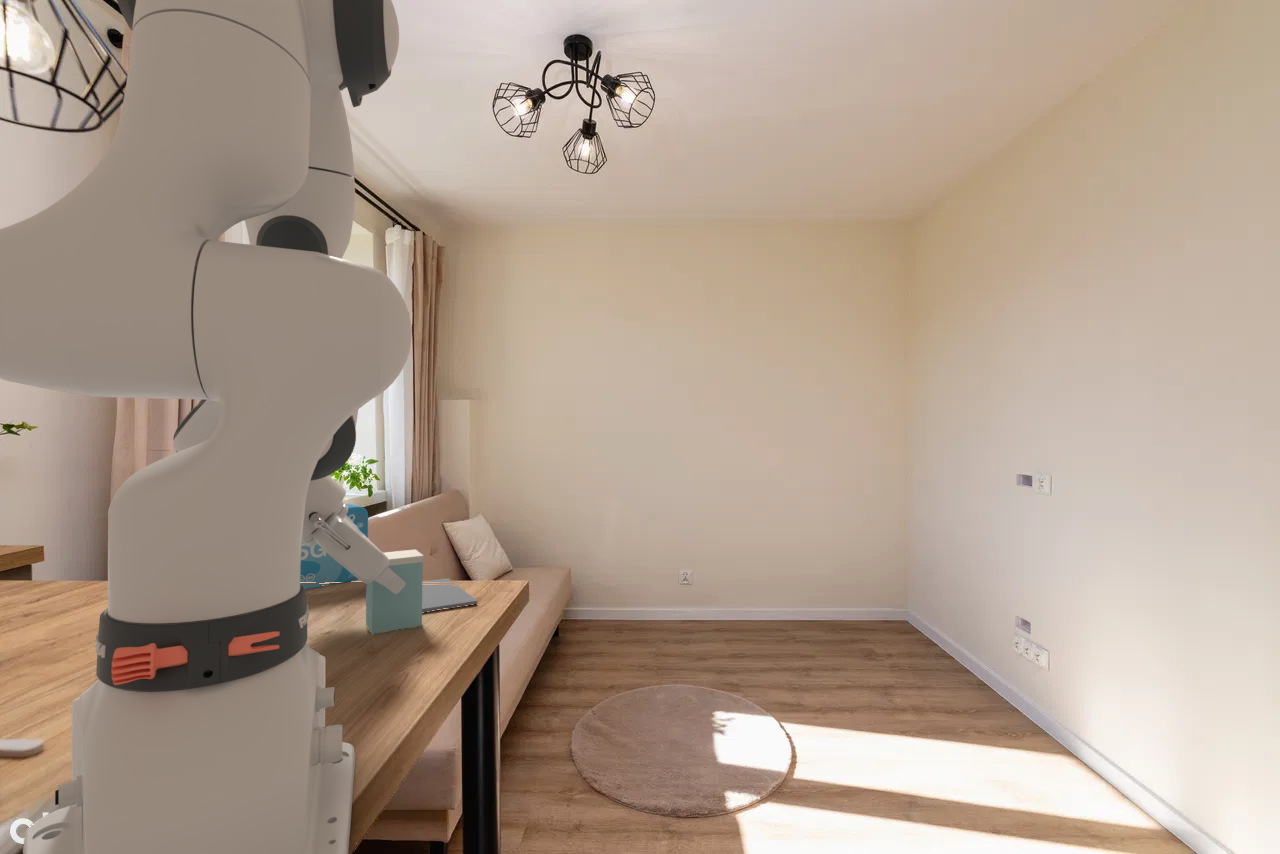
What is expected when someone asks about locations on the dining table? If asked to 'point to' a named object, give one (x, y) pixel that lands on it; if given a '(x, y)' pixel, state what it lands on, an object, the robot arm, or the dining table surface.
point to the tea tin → (397, 595)
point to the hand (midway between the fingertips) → (391, 578)
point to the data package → (329, 557)
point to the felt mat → (444, 596)
